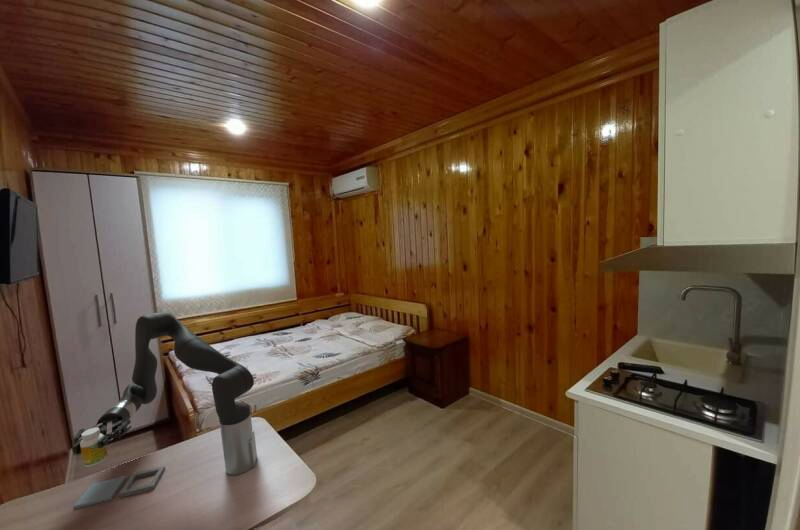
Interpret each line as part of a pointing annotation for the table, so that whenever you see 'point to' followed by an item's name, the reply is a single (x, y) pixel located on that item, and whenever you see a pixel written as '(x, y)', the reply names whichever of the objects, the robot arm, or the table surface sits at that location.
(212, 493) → the table surface
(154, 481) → the collar
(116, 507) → the table surface
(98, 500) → the board
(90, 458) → the supplement bottle
